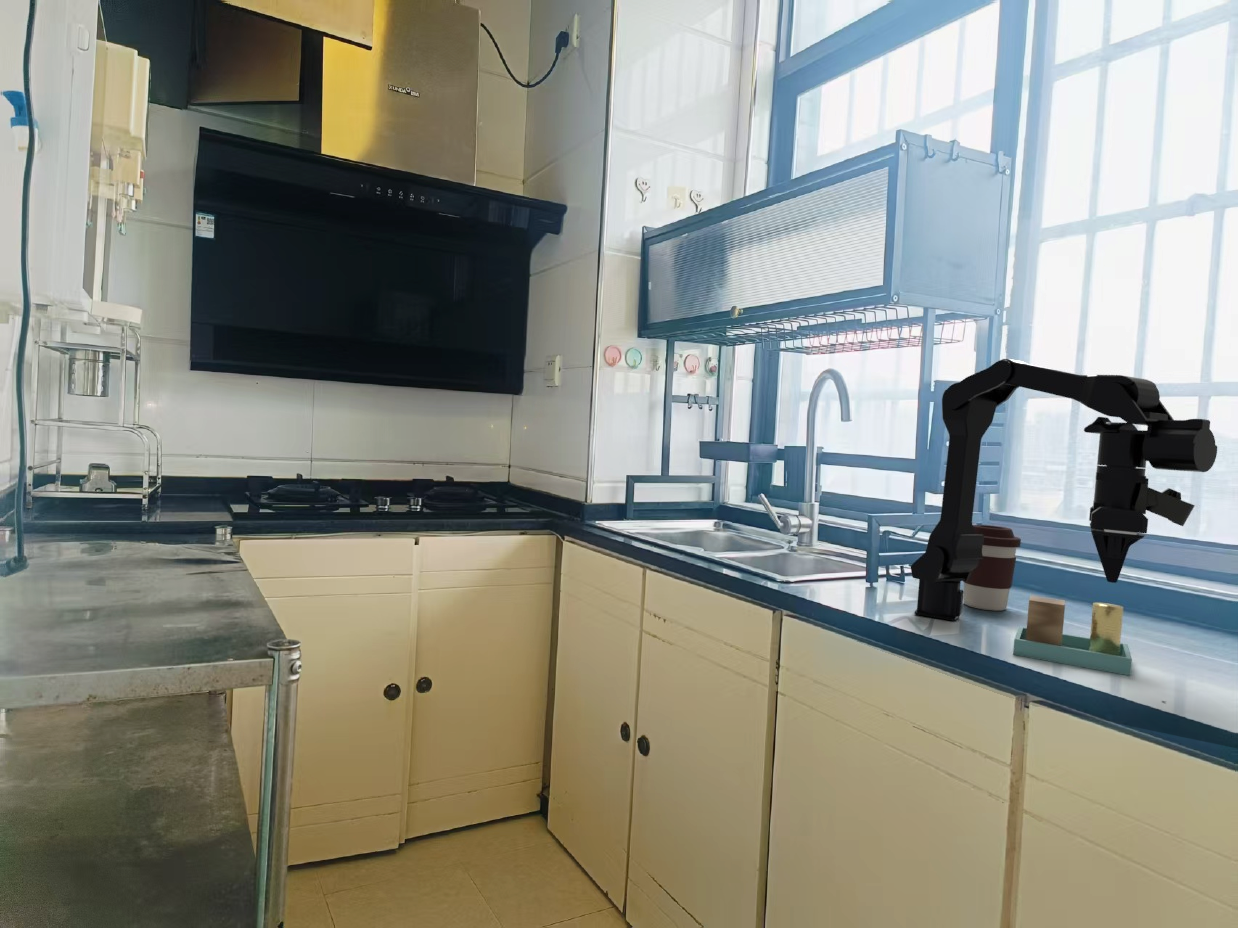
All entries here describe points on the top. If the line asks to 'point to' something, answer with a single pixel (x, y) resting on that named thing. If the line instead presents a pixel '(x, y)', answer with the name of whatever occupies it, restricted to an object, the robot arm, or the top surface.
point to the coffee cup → (992, 569)
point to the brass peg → (1106, 628)
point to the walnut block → (1045, 620)
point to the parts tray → (1073, 653)
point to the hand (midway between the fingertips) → (1110, 578)
